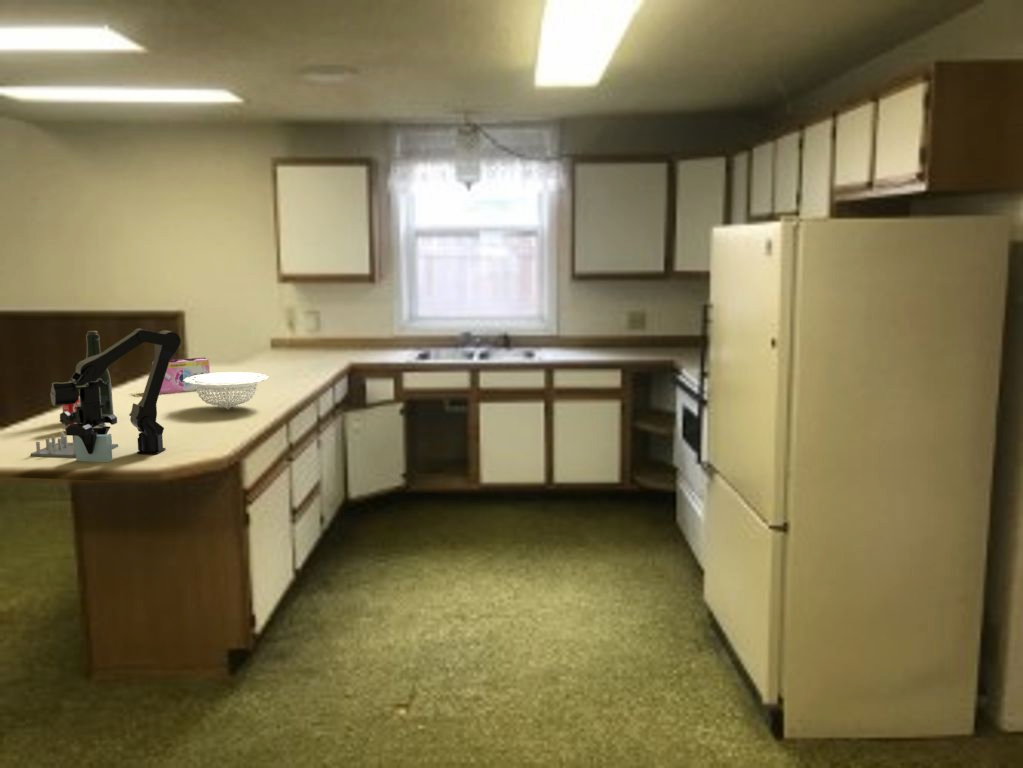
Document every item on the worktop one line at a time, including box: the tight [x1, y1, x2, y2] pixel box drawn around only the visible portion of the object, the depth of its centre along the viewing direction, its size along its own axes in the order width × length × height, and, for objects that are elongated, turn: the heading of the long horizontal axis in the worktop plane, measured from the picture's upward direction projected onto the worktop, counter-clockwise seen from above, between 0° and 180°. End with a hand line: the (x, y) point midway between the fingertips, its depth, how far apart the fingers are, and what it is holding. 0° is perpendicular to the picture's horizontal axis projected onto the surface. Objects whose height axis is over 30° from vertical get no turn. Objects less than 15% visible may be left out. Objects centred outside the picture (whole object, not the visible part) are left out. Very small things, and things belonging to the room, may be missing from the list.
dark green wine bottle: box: [85, 330, 114, 414], centre depth 320 cm, size 10×10×33 cm
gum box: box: [151, 357, 211, 395], centre depth 383 cm, size 24×8×14 cm, turn 128°
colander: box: [183, 371, 270, 410], centre depth 342 cm, size 32×32×13 cm
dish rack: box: [30, 431, 119, 458], centre depth 275 cm, size 20×15×4 cm
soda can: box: [61, 396, 83, 430], centre depth 302 cm, size 7×7×12 cm
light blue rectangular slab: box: [75, 434, 113, 463], centre depth 264 cm, size 10×2×8 cm, turn 86°
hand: (94, 452), depth 264 cm, fingers open, 4 cm apart
